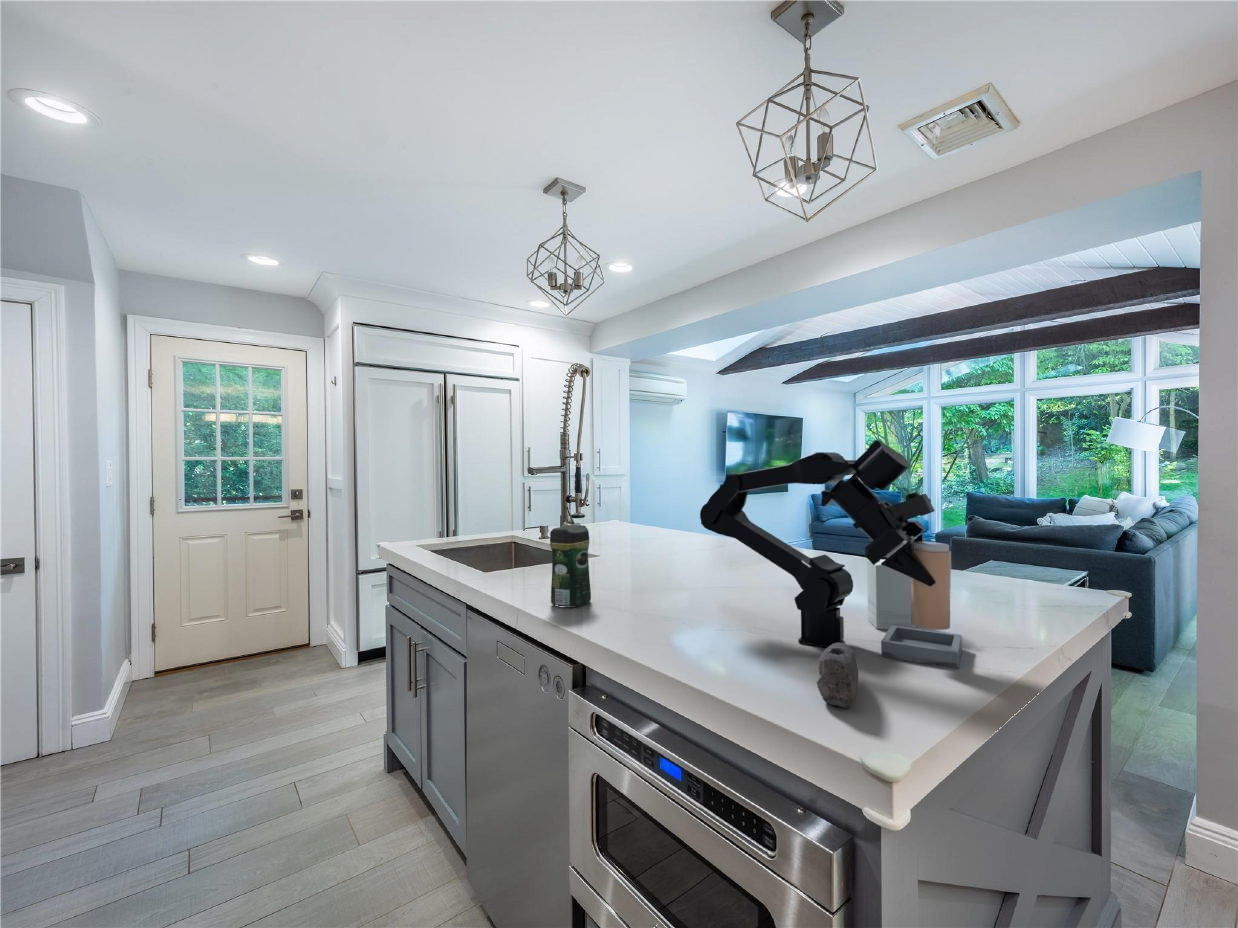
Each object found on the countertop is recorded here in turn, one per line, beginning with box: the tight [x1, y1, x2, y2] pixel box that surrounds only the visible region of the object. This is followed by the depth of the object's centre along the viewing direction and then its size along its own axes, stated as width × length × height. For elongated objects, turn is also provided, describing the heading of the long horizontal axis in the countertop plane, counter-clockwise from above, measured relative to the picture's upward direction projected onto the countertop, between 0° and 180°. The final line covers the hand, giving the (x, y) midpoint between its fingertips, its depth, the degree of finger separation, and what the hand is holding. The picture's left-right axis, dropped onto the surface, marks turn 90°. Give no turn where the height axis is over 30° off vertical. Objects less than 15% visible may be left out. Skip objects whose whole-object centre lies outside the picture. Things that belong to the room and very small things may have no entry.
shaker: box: [911, 541, 952, 631], centre depth 90 cm, size 6×6×13 cm
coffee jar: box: [549, 524, 592, 607], centre depth 132 cm, size 10×8×19 cm
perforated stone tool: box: [816, 642, 860, 709], centre depth 79 cm, size 15×5×7 cm, turn 154°
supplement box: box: [866, 559, 917, 631], centre depth 112 cm, size 7×7×13 cm
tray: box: [880, 625, 963, 670], centre depth 95 cm, size 11×11×2 cm
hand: (936, 581), depth 90 cm, fingers closed on shaker, 5 cm apart
